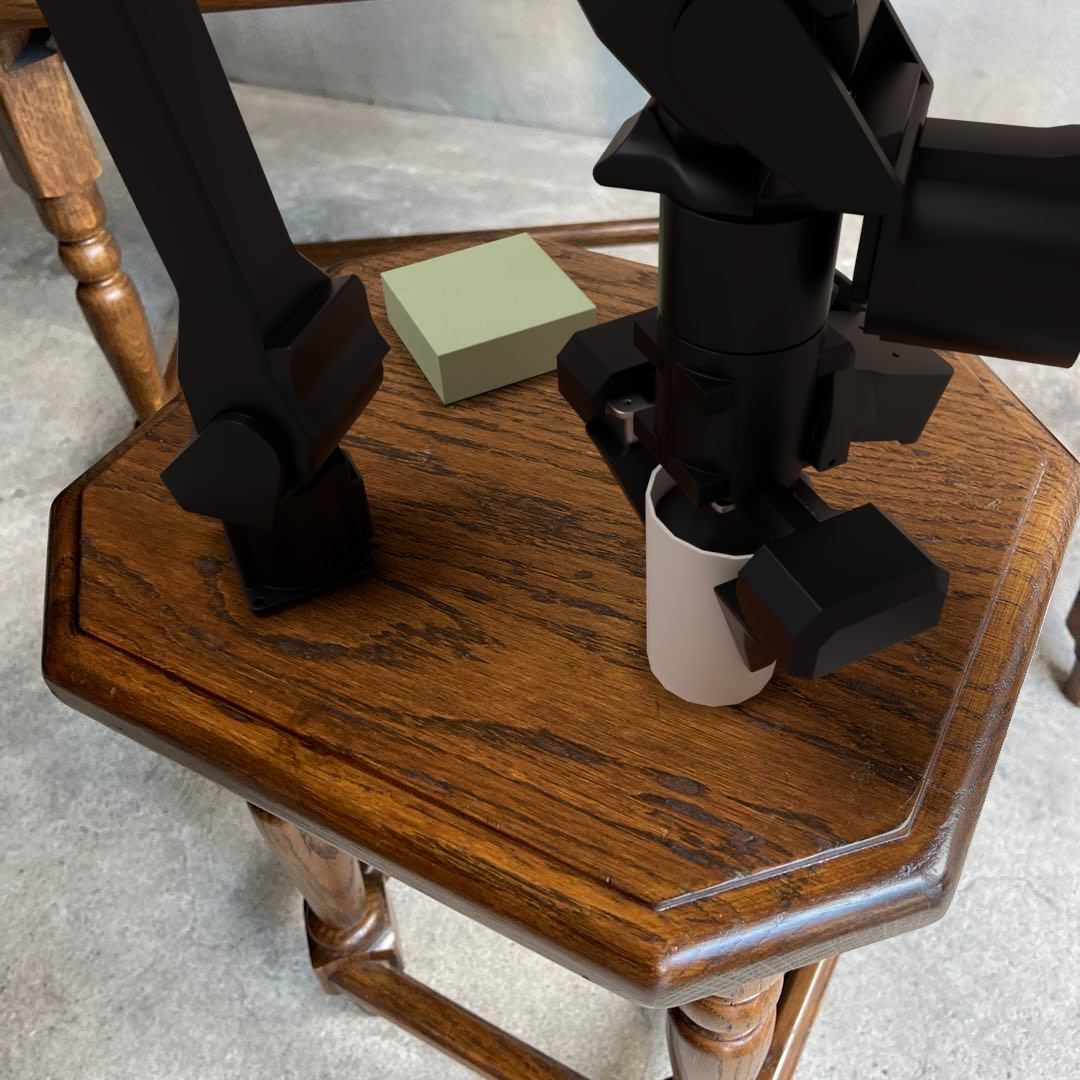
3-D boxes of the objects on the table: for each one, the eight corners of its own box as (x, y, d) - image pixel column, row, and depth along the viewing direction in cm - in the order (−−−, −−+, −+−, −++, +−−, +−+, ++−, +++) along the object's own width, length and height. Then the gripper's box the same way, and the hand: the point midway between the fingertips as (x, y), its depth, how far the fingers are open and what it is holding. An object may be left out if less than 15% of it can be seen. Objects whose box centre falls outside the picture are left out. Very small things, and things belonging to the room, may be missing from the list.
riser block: (444, 405, 64) (437, 355, 62) (388, 320, 71) (379, 272, 68) (598, 356, 67) (597, 306, 64) (529, 279, 73) (526, 231, 71)
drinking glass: (791, 718, 47) (828, 562, 40) (636, 711, 48) (644, 556, 41) (779, 600, 52) (810, 441, 45) (638, 595, 53) (646, 437, 45)
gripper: (1141, 381, 33) (1013, 696, 44) (787, 141, 45) (756, 435, 56) (830, 502, 30) (776, 807, 41) (542, 211, 42) (560, 506, 53)
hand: (716, 612), depth 48 cm, fingers closed on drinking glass, 6 cm apart
